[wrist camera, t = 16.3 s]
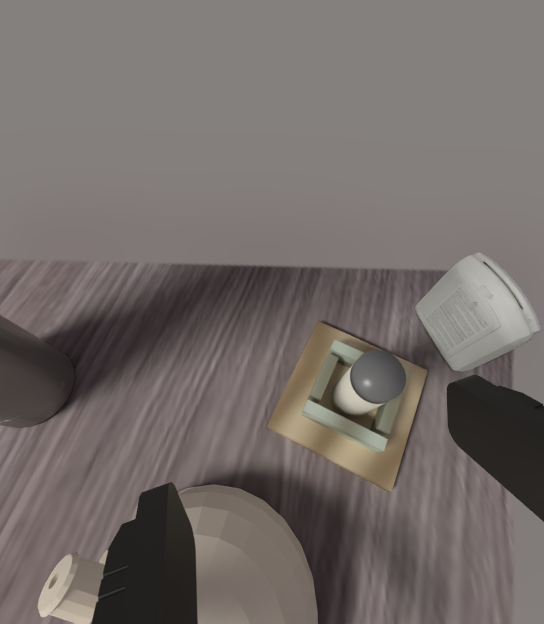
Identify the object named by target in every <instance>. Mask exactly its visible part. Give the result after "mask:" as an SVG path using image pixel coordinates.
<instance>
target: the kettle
mask: <svg viewBox="0 0 544 624" xmlns="http://www.w3.org/2000/svg"><path fill="white" fill-rule="evenodd" d="M178 495H179V497H180V499H181V502H182V504H183V506H184V509H185V511H186V514H187V516H188V518H189V521H190V523H191V526H192V530H193V534H194V539H195V548H196V580H197V617H198V624H318V611H317V604H316V596H315V589H314V582H313V576H312V573H311V571H310V568H309V565H308V562H307V560H306V557H305V554H304V551H303V548H302V546H301V544H300V542H299V541H298V539H297V538H296V536H295V535H294V533H293V532H292V530H291V529H290V527H289V525H288V524H287V522H286V521H285V519H284V518H283V517H281V516H280V515H279V514H278V513H277V512H276V511H275V510H274V509H273V508H272V507H270V506H269V505H268V504H267V503H266V502H265V501H264V500H262V499H260V498H258V497H256V496H254V495H252V494H250V493H248V492H246V491H244V490H242V489H240V488H234V487H228V486H221V485H215V484H213V485H206V486H198V487H190V488H187V489H184V490H182V491H180V492H178ZM107 553H108V550H107V551H106V552H105V553H104V554H103V556H102V558H101V560H100V561H99V562H95V561H92V560H89V559H86V558H82V557H79V554H78V553H77V552H75V553H72V554H69V555H67V556H65V557H64V558H63V559H62V560H61V561H60V562H59V563H58V565H57V566H56V567H55V568H54V570H53V572H52V573H51V575H50V576H49V578H48V580H47V582H46V584H45V586H44V588H43V590H42V593H41V595H40V598H39V602H38V609H39V612H40V615H41V617H46V616H47V615H52V616H55V617H58V618H61V619H64V620H67V621H70V622H73V623H74V624H91V623H92V619H93V614H94V610H95V606H96V602H98V592H99V588H100V584H101V579H103V570H104V566H105V562H106V557H107Z"/></svg>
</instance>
